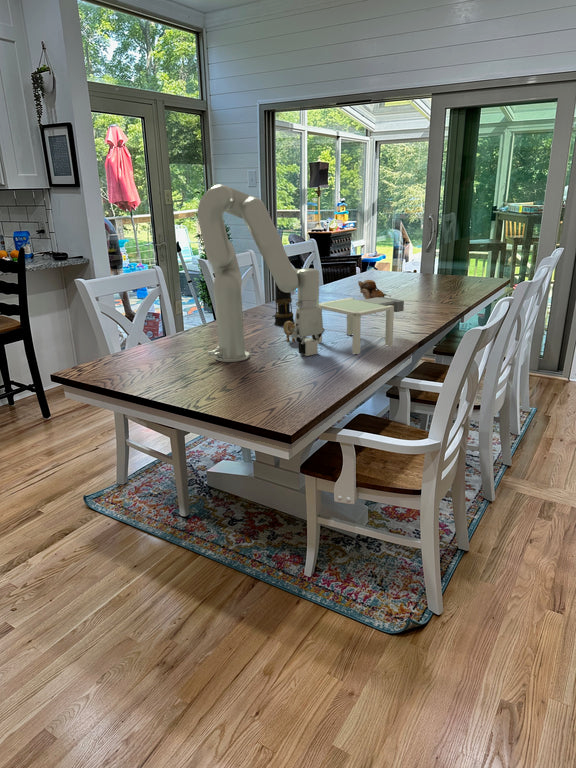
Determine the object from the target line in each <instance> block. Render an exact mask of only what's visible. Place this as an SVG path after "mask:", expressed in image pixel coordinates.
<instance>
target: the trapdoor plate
mask: <svg viewBox="0 0 576 768" xmlns="http://www.w3.org/2000/svg"><path fill="white" fill-rule="evenodd" d="M324 305H328V306H333V307H337V308H342V309H346V310H351V311H355V312H359V311H364V310H369V309H374V308H379V307H384V306H389V305H391V306H394V313H399V312H400V313H401V312H404V309H405V306H404V305H405V301H404V300H401V299H395V298H392V297H385V296H384V297H379V298H378V297H376V298H371V299H365V298H364V299H361V300H360V299H359V300H358V299H355V298H354V299H348V300H343V301H337V302H332V303H326V304H324Z"/></svg>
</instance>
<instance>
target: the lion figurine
mask: <svg viewBox="0 0 576 768" xmlns="http://www.w3.org/2000/svg"><path fill="white" fill-rule="evenodd" d="M294 330H295V323H294V324H293V322H291V321H287V322H285V324H284V326H283V333H284V334H285V335H286V340H285V342H290V336H291V335H292V333H293V331H294ZM297 336H298V335H297ZM291 342H292V343H296V340H295V339H294V338H293V337H291Z"/></svg>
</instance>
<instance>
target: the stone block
mask: <svg viewBox="0 0 576 768" xmlns="http://www.w3.org/2000/svg"><path fill="white" fill-rule="evenodd" d="M304 344H305V354H304V356H312V355H318V352H319V351H318V350H319V349H318V348H319V347H318V346H319V343H318V340H315V339H312V337H307V338H306V337H305V341H304Z"/></svg>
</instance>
